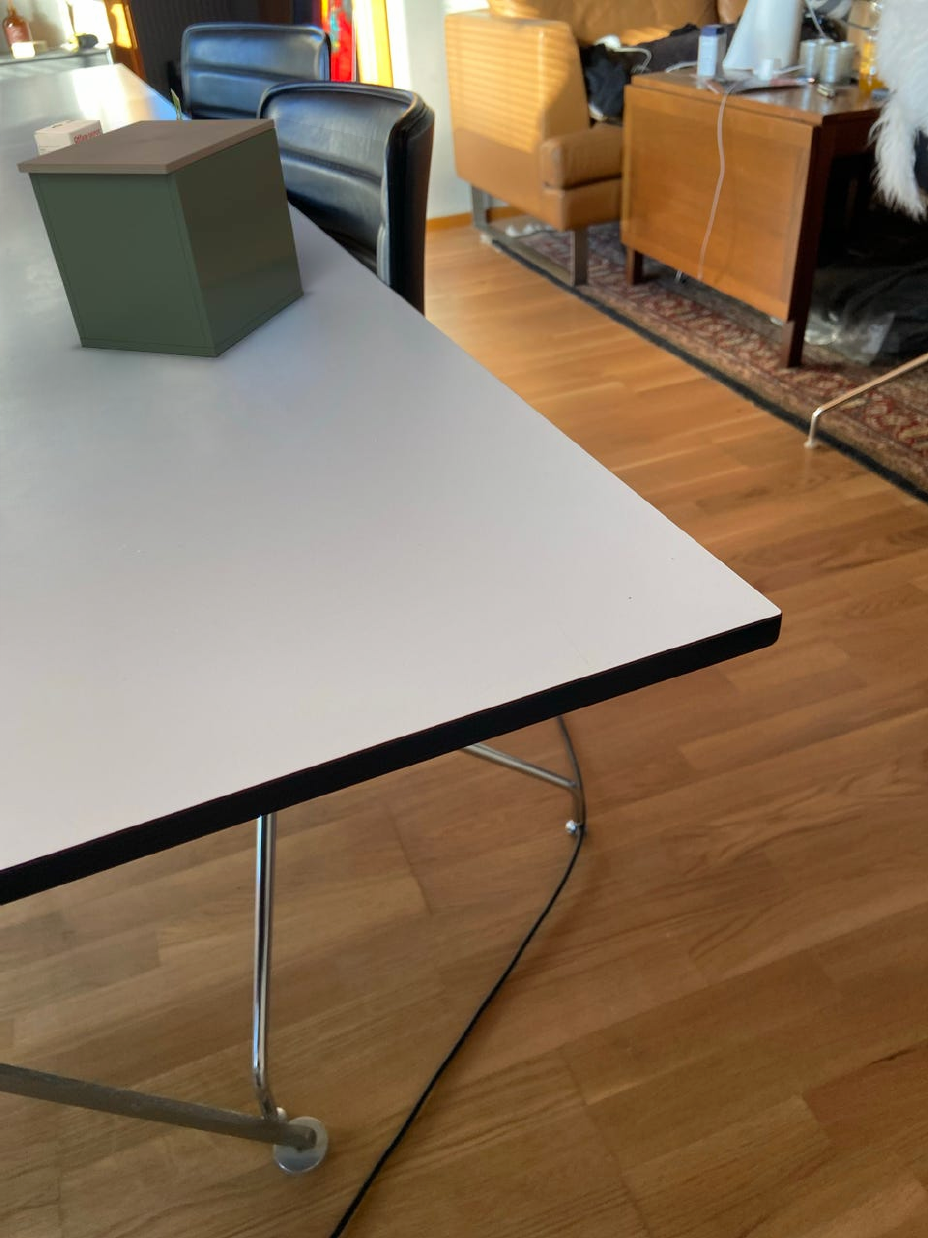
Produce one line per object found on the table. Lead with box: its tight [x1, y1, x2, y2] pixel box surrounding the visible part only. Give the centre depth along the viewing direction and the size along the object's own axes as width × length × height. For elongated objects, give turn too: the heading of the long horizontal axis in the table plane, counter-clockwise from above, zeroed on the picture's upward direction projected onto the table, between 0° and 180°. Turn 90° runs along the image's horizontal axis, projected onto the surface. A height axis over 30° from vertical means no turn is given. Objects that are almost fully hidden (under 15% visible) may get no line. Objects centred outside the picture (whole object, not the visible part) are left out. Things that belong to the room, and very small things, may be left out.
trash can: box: [27, 127, 304, 358], centre depth 91 cm, size 17×15×15 cm
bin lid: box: [16, 118, 276, 174], centre depth 86 cm, size 18×15×1 cm
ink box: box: [33, 119, 104, 156], centre depth 125 cm, size 9×5×12 cm, turn 170°
